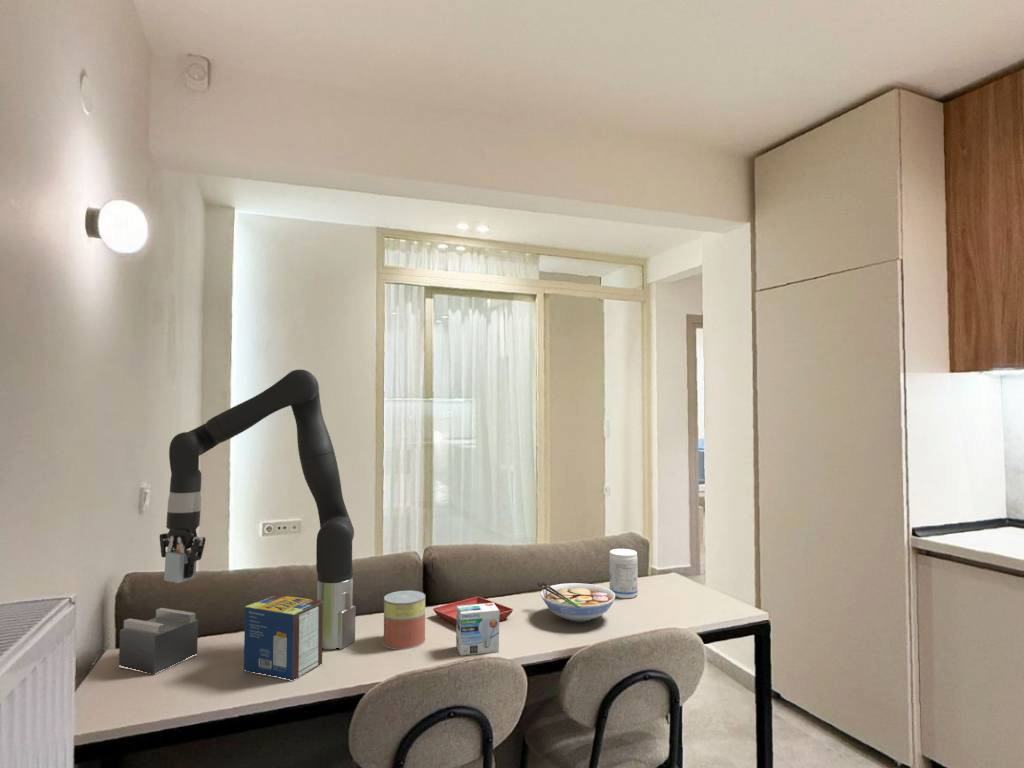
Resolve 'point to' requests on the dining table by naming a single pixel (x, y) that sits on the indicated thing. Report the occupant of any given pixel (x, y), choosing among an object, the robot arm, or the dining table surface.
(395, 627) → the canned food
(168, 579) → the block
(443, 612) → the plant saucer
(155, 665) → the grey ridged block
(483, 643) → the light bulb box
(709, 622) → the dining table surface
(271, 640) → the protein box
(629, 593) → the supplement tub
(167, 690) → the dining table surface
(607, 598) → the ramen bowl
